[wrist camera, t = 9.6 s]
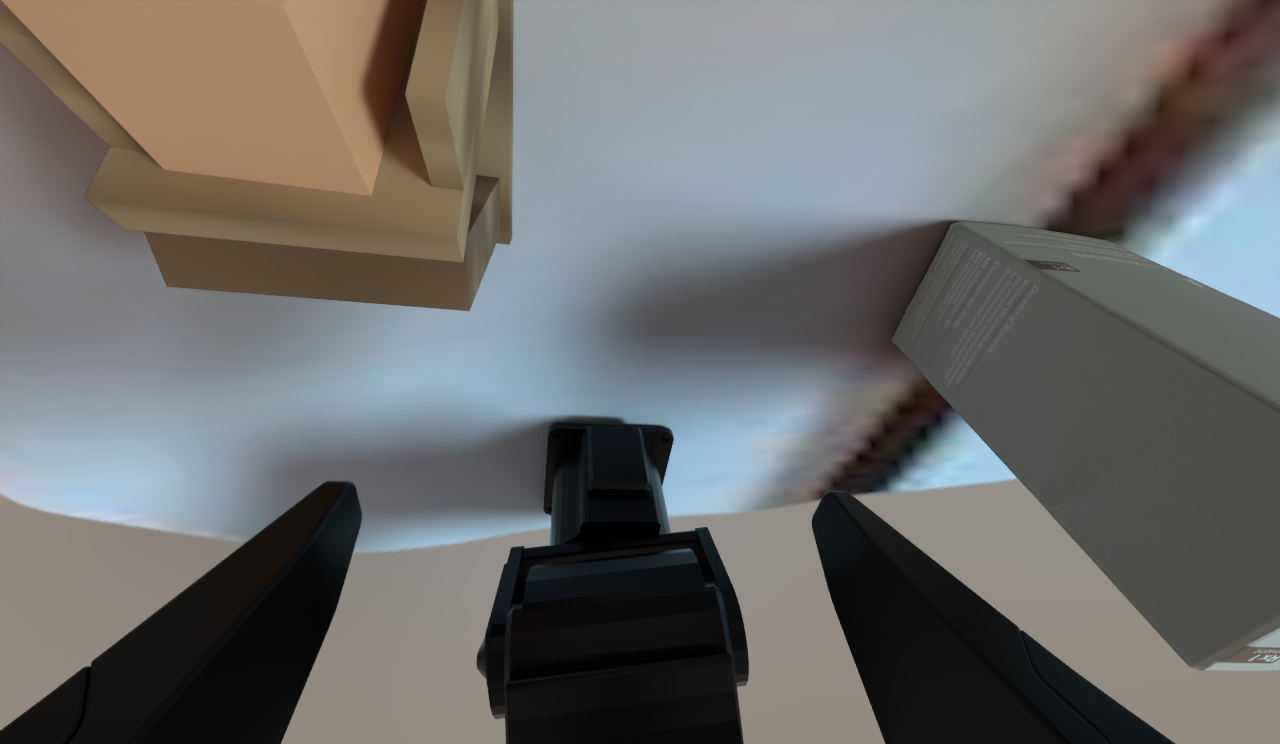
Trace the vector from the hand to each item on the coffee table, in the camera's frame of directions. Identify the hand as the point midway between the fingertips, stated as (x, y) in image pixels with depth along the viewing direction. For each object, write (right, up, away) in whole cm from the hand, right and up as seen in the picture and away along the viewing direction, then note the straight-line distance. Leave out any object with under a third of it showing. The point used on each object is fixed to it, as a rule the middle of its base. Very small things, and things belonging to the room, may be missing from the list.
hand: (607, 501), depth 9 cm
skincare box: (+17, +6, +14) cm, 23 cm away
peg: (-7, +10, +3) cm, 13 cm away
